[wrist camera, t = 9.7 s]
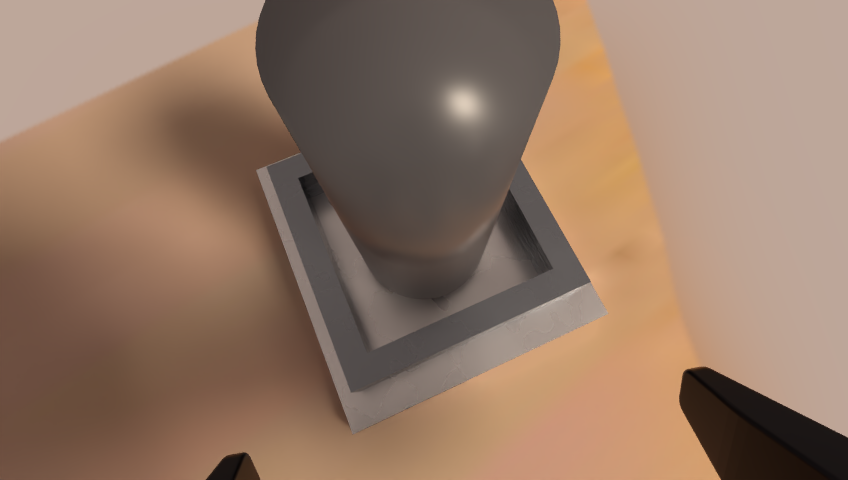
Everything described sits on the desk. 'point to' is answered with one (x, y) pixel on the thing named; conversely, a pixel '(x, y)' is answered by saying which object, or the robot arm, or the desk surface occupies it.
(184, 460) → the desk surface
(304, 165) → the square tray
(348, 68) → the grey domed cylinder
